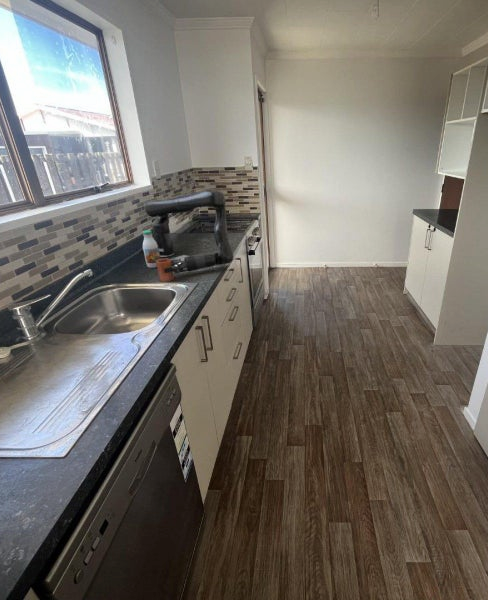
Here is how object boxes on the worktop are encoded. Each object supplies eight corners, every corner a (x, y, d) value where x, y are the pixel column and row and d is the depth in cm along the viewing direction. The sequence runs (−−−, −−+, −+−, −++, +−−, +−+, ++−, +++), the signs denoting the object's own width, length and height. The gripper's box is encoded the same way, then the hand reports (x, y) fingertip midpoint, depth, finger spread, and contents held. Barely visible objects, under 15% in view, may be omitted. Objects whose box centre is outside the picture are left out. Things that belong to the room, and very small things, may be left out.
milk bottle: (144, 267, 184) (135, 232, 176) (154, 263, 191) (147, 228, 182) (154, 268, 181) (146, 233, 173) (164, 264, 188) (157, 229, 179)
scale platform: (169, 260, 186) (168, 259, 185) (184, 255, 193) (184, 254, 192) (178, 263, 180) (178, 262, 180) (194, 259, 187) (194, 258, 187)
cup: (157, 279, 166) (153, 261, 162) (169, 276, 171) (165, 257, 167) (164, 282, 163) (160, 263, 158) (176, 278, 167) (172, 260, 163)
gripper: (190, 252, 175) (158, 257, 168) (197, 259, 164) (163, 265, 157) (192, 265, 178) (161, 271, 171) (200, 273, 167) (167, 280, 160)
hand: (162, 268), depth 164 cm, fingers open, 8 cm apart
